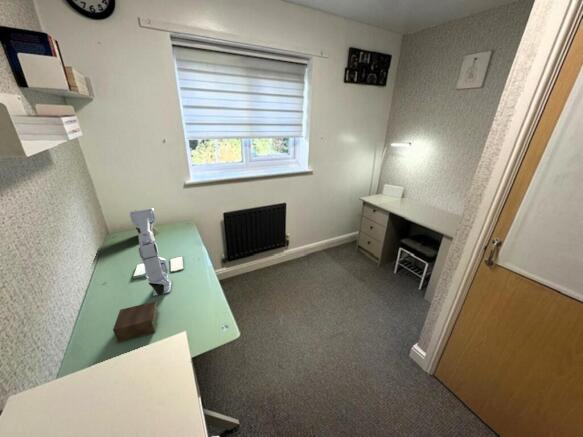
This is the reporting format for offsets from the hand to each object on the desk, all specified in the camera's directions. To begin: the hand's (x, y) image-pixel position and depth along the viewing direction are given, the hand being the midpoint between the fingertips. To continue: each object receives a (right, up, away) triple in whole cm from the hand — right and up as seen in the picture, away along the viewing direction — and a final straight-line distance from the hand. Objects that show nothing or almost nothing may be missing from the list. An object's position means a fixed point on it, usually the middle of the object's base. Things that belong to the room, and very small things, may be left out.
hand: (160, 293), depth 107 cm
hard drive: (-28, +3, +32) cm, 43 cm away
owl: (-50, +21, +73) cm, 91 cm away
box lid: (-7, -7, -7) cm, 12 cm away
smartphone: (-11, +6, +38) cm, 40 cm away
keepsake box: (-7, -13, -4) cm, 16 cm away
